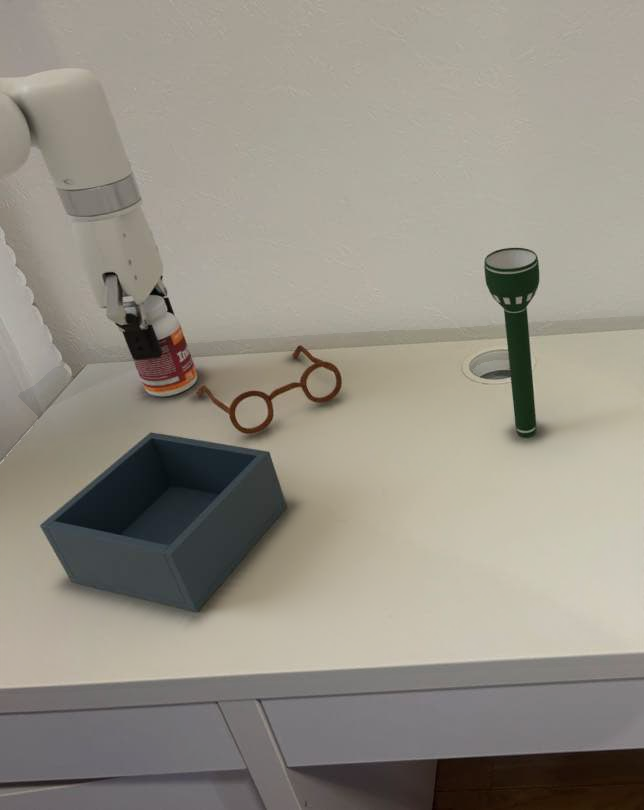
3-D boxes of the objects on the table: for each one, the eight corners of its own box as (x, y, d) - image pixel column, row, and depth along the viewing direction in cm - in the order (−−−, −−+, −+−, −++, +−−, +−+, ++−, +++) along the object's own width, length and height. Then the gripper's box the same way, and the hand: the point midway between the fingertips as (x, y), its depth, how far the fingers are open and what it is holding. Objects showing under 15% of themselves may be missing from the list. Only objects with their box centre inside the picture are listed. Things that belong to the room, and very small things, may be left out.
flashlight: (547, 416, 87) (534, 244, 76) (553, 443, 83) (541, 266, 72) (500, 421, 87) (481, 250, 76) (504, 449, 83) (485, 272, 71)
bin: (71, 582, 71) (39, 525, 67) (173, 485, 81) (150, 431, 77) (197, 612, 67) (171, 554, 63) (287, 507, 77) (269, 451, 73)
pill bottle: (201, 389, 96) (172, 308, 90) (147, 403, 94) (113, 321, 88) (196, 366, 101) (168, 287, 95) (145, 379, 99) (113, 299, 93)
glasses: (240, 443, 87) (227, 405, 84) (196, 396, 95) (183, 360, 92) (347, 395, 93) (338, 358, 90) (297, 355, 102) (288, 321, 99)
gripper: (92, 173, 91) (145, 313, 101) (31, 229, 77) (100, 385, 87) (159, 167, 92) (205, 306, 102) (110, 221, 78) (170, 377, 88)
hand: (156, 341), depth 94 cm, fingers closed on pill bottle, 6 cm apart
